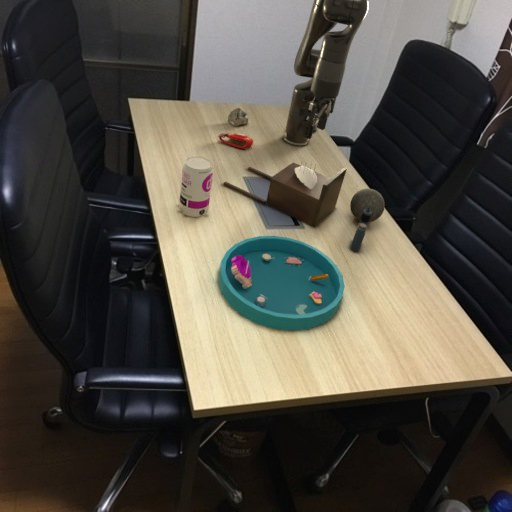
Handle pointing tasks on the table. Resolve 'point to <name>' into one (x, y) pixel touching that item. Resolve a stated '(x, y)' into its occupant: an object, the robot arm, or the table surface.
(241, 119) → the grey brown rock
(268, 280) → the round teal tray
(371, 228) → the table surface
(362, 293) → the table surface
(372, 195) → the decorative ball
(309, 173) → the pincushion
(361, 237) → the vaping device
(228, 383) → the table surface
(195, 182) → the supplement can
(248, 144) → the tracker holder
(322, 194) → the box with long handles
